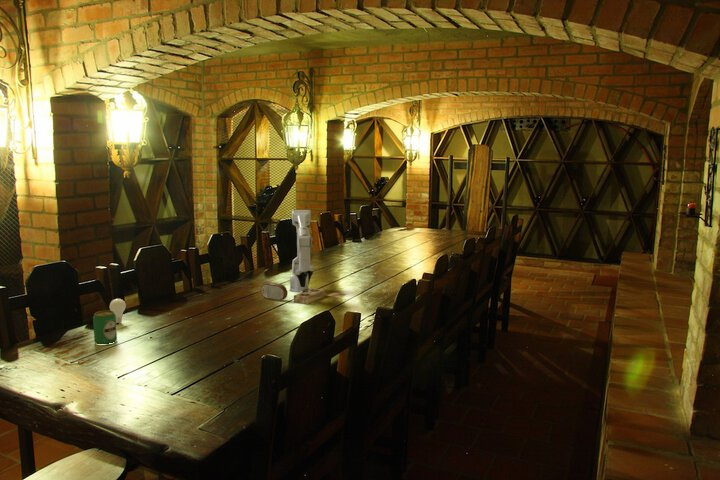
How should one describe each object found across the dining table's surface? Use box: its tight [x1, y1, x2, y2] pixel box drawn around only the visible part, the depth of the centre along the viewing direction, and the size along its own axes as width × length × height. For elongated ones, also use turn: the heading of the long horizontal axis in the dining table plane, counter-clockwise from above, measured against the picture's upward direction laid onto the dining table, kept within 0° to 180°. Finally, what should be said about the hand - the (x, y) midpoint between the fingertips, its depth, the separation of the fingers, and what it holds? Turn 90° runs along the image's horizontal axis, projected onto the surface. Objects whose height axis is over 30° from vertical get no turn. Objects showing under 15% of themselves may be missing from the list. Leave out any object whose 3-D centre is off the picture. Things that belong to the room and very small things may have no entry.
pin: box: [302, 273, 309, 293], centre depth 275 cm, size 3×3×10 cm
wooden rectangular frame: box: [293, 287, 326, 305], centre depth 281 cm, size 8×18×4 cm, turn 154°
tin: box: [260, 281, 288, 301], centre depth 280 cm, size 15×3×8 cm, turn 65°
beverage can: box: [92, 309, 118, 344], centre depth 214 cm, size 8×8×12 cm
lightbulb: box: [109, 298, 127, 324], centre depth 237 cm, size 6×6×11 cm
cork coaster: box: [326, 292, 348, 299], centre depth 289 cm, size 8×8×1 cm
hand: (304, 286), depth 276 cm, fingers closed on pin, 3 cm apart
